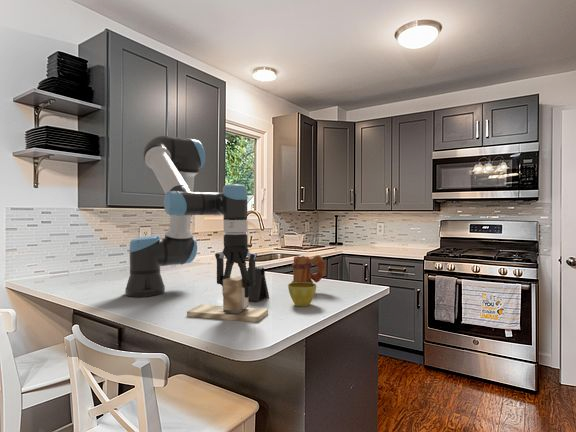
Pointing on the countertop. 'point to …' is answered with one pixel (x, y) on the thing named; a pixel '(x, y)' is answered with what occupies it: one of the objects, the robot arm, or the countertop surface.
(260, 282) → the door stopper
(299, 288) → the flower pot
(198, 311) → the board
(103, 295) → the countertop surface
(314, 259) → the mug
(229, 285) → the block
